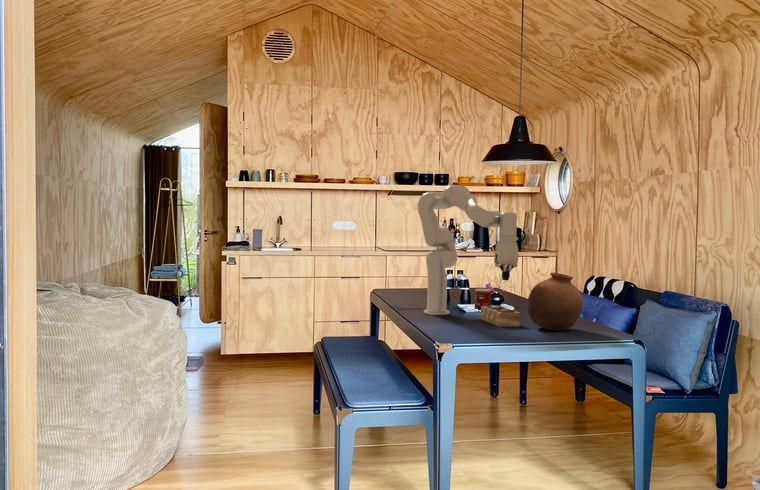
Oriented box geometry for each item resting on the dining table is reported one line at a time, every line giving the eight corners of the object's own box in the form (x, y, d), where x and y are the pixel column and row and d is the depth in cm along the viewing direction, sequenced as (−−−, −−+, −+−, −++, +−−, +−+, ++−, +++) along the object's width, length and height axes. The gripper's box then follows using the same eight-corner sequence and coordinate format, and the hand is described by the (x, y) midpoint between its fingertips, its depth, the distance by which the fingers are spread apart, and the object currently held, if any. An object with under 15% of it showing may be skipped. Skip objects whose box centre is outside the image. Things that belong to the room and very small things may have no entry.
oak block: (480, 319, 289) (481, 305, 289) (499, 318, 292) (500, 304, 292) (499, 326, 271) (500, 312, 271) (519, 326, 274) (520, 311, 274)
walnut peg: (498, 323, 278) (499, 309, 278) (506, 323, 280) (506, 309, 279) (502, 325, 275) (503, 310, 274) (510, 325, 276) (511, 310, 275)
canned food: (472, 309, 315) (472, 288, 314) (486, 309, 317) (486, 288, 316) (478, 312, 307) (479, 290, 307) (493, 312, 310) (493, 290, 309)
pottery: (517, 326, 274) (519, 270, 272) (560, 323, 282) (562, 269, 280) (548, 336, 252) (550, 276, 251) (593, 333, 261) (596, 275, 259)
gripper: (518, 239, 280) (516, 278, 282) (488, 238, 276) (486, 279, 277) (526, 240, 273) (524, 281, 275) (496, 239, 269) (494, 281, 270)
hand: (505, 280), depth 276 cm, fingers closed
